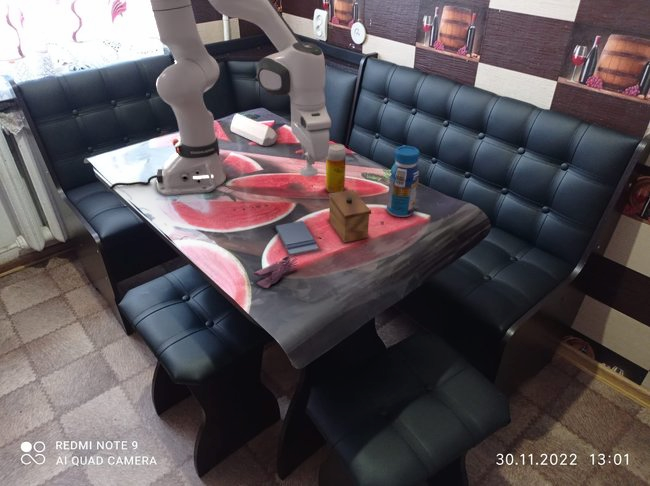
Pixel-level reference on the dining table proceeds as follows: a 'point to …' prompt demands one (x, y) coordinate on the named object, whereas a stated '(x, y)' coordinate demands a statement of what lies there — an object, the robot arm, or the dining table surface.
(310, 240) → the grey flat slab
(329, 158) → the yellow cylinder
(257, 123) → the crystal
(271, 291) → the dining table surface
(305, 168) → the chess piece
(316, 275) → the dining table surface
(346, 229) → the bread box
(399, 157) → the beverage bottle
